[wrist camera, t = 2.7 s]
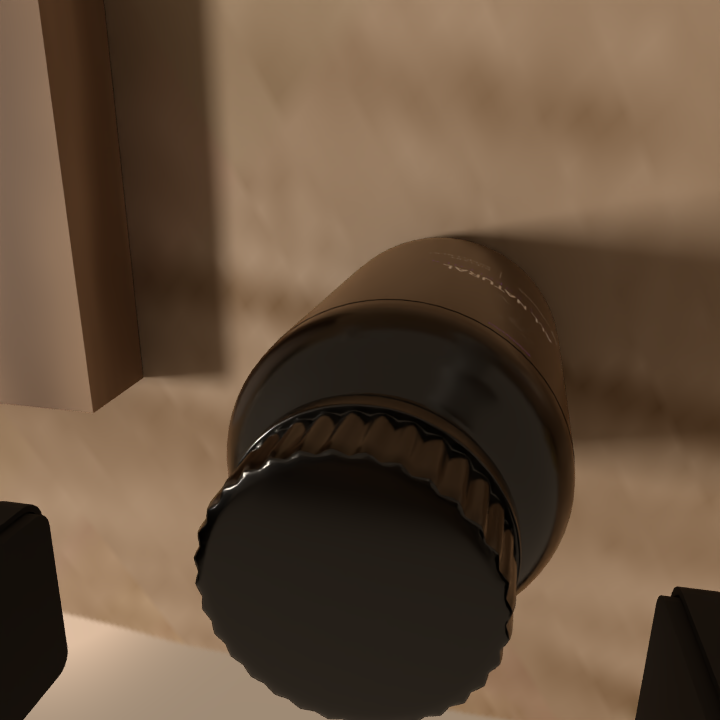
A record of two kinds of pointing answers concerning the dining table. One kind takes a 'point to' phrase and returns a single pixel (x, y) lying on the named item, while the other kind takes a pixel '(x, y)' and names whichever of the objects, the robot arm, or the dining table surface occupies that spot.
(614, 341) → the dining table surface
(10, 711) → the robot arm
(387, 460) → the supplement bottle
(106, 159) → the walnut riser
